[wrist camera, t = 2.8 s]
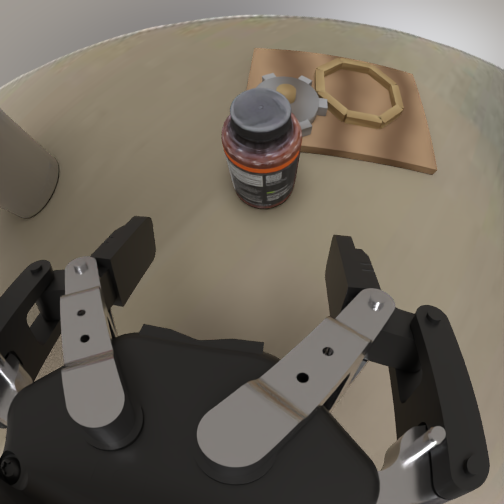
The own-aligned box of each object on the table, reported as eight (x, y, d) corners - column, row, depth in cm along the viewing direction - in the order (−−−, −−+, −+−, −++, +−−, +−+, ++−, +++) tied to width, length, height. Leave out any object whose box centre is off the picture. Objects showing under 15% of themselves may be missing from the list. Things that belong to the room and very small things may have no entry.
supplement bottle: (262, 146, 29) (259, 66, 18) (306, 181, 28) (326, 106, 17) (220, 184, 28) (196, 110, 17) (265, 223, 27) (264, 160, 16)
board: (238, 146, 29) (234, 123, 25) (254, 54, 33) (253, 32, 29) (432, 174, 28) (449, 158, 24) (409, 79, 31) (419, 61, 27)
